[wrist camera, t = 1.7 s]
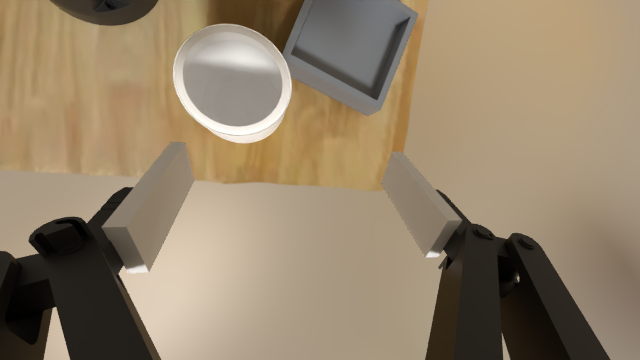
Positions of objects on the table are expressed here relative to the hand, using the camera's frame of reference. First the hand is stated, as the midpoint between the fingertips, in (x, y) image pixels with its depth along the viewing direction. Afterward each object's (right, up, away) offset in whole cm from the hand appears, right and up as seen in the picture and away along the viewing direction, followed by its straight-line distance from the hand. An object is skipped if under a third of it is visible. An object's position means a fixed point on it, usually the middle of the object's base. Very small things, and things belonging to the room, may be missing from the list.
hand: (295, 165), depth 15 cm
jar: (-10, +9, +21) cm, 25 cm away
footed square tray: (+5, +20, +24) cm, 32 cm away
